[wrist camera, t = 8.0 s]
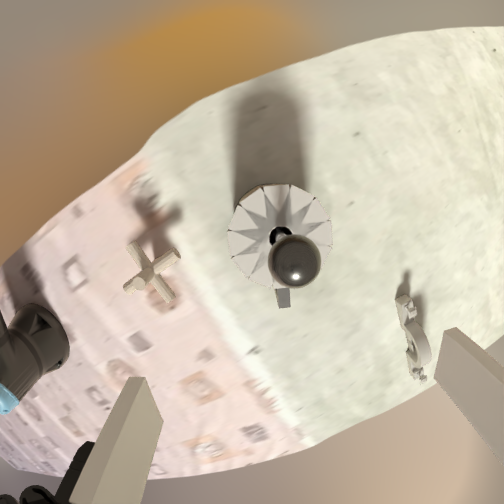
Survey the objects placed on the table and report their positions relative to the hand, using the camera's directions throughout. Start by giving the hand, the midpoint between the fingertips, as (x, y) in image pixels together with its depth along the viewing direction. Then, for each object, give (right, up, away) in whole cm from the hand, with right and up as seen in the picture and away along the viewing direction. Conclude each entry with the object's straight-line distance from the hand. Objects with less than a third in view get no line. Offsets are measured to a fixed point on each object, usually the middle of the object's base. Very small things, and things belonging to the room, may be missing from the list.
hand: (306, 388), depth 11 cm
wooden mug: (+1, +9, +33) cm, 35 cm away
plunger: (+1, +10, +30) cm, 32 cm away
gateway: (+28, -11, +39) cm, 50 cm away
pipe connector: (-17, +4, +34) cm, 39 cm away
